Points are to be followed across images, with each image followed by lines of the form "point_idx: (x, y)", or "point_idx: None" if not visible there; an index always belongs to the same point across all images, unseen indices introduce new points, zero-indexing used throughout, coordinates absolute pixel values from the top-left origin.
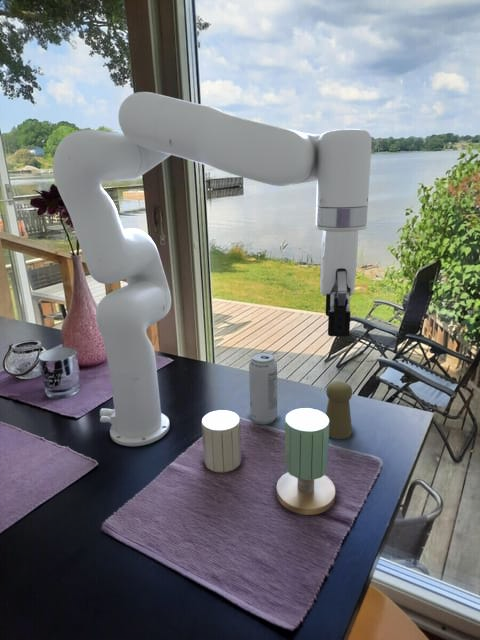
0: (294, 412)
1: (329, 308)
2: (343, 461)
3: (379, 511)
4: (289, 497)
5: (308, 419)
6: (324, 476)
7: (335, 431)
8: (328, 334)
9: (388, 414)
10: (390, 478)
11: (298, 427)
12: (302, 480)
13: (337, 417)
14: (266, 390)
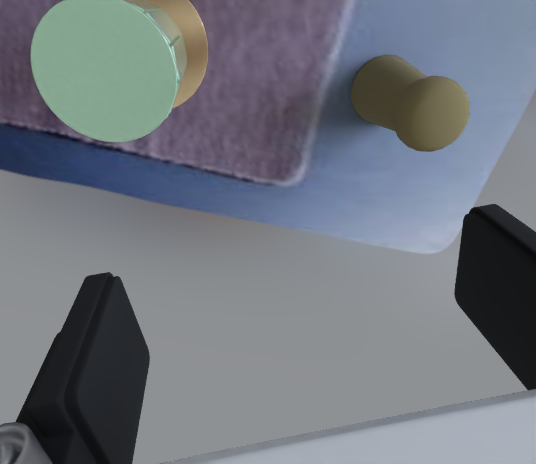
0: (129, 22)
1: (492, 253)
2: (272, 114)
3: (151, 185)
4: None
5: (106, 78)
6: (194, 84)
7: (358, 91)
8: (86, 279)
9: (452, 192)
10: (243, 199)
11: (44, 53)
12: None
13: (375, 102)
14: None
